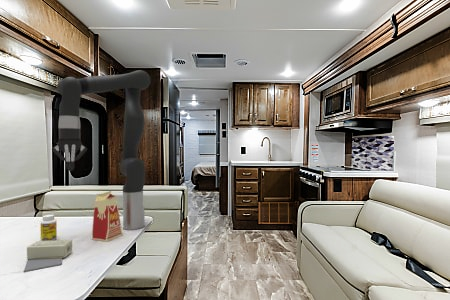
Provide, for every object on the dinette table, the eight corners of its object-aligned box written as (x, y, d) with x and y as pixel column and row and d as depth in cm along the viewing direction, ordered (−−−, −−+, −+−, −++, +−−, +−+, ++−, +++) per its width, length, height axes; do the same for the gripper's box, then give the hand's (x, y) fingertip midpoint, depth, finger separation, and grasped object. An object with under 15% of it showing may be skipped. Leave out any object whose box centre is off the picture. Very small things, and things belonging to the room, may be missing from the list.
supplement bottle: (40, 243, 108) (40, 218, 107) (40, 239, 112) (40, 215, 112) (56, 240, 111) (56, 216, 111) (56, 237, 115) (56, 213, 115)
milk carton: (122, 235, 117) (122, 189, 117) (107, 242, 108) (106, 192, 108) (105, 233, 120) (105, 188, 120) (89, 239, 111) (88, 191, 111)
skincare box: (72, 251, 98) (37, 253, 97) (72, 239, 98) (37, 240, 97) (64, 258, 92) (26, 260, 91) (64, 245, 92) (26, 247, 91)
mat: (62, 251, 99) (62, 250, 99) (61, 264, 88) (61, 263, 88) (28, 257, 94) (28, 256, 94) (23, 272, 83) (23, 270, 83)
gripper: (87, 128, 115) (88, 169, 115) (50, 128, 108) (51, 171, 108) (88, 127, 108) (89, 170, 108) (49, 126, 102) (50, 172, 102)
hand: (70, 170), depth 108 cm, fingers closed
